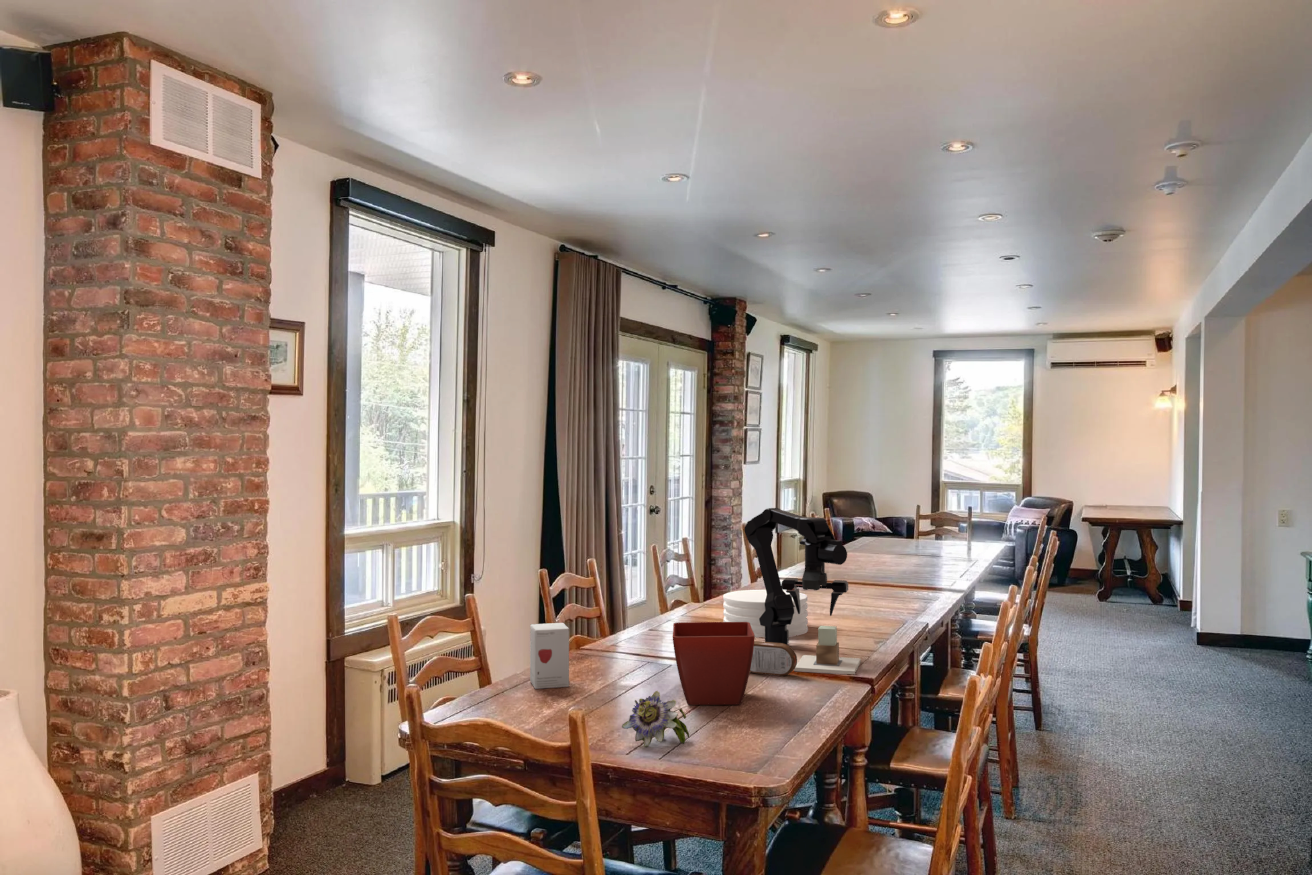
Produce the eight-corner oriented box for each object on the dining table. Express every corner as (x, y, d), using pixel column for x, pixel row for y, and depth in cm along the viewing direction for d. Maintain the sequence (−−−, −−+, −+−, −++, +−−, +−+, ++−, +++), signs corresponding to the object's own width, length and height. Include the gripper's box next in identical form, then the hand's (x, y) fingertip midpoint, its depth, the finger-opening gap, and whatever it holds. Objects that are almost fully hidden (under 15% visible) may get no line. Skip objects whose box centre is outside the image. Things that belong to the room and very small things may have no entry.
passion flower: (648, 772, 186) (612, 725, 186) (659, 746, 197) (626, 701, 197) (691, 746, 183) (655, 697, 183) (701, 720, 194) (666, 674, 194)
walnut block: (816, 663, 253) (816, 645, 253) (819, 659, 258) (819, 641, 258) (836, 664, 251) (836, 646, 251) (839, 660, 256) (838, 642, 256)
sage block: (818, 644, 253) (818, 628, 253) (820, 641, 257) (820, 625, 257) (835, 645, 252) (834, 629, 252) (836, 642, 256) (836, 626, 256)
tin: (797, 675, 245) (797, 643, 245) (794, 678, 242) (793, 645, 242) (743, 670, 251) (743, 639, 251) (740, 672, 248) (739, 641, 248)
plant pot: (674, 688, 232) (673, 621, 232) (750, 688, 231) (749, 620, 232) (673, 709, 213) (672, 636, 213) (756, 709, 212) (755, 635, 213)
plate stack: (814, 637, 295) (813, 601, 295) (726, 638, 295) (726, 602, 295) (801, 621, 323) (800, 589, 323) (721, 622, 323) (720, 589, 323)
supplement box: (534, 689, 232) (533, 629, 233) (529, 681, 241) (529, 623, 241) (570, 686, 235) (569, 627, 235) (564, 678, 243) (563, 621, 244)
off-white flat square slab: (794, 671, 249) (794, 666, 249) (803, 658, 264) (803, 654, 264) (854, 674, 244) (854, 670, 244) (860, 661, 260) (860, 657, 260)
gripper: (777, 563, 265) (777, 617, 265) (843, 565, 259) (843, 621, 259) (785, 558, 275) (785, 610, 275) (848, 561, 269) (848, 614, 269)
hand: (814, 614), depth 269 cm, fingers open, 9 cm apart
